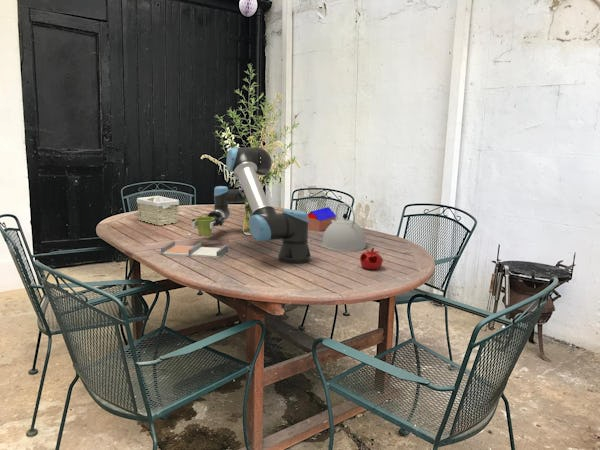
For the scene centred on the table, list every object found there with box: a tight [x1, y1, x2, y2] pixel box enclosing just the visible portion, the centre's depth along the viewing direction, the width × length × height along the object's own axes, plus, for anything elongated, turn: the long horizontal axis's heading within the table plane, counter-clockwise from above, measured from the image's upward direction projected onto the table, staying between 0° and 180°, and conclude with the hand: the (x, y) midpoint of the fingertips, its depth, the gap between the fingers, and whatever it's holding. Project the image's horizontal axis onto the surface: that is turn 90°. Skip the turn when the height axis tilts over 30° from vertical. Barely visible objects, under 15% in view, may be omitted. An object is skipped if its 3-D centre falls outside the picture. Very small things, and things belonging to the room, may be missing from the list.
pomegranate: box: [359, 247, 384, 270], centre depth 214 cm, size 10×10×9 cm
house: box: [307, 206, 337, 232], centre depth 294 cm, size 12×20×12 cm, turn 146°
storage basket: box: [136, 195, 180, 226], centre depth 296 cm, size 24×16×15 cm
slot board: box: [160, 240, 229, 259], centre depth 231 cm, size 28×14×3 cm, turn 82°
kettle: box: [322, 202, 367, 252], centre depth 251 cm, size 25×23×23 cm
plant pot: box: [194, 216, 214, 237], centre depth 244 cm, size 9×9×9 cm
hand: (201, 225), depth 239 cm, fingers closed on plant pot, 8 cm apart
